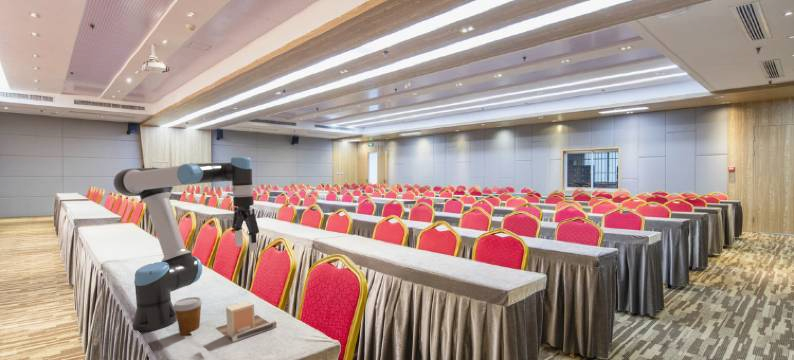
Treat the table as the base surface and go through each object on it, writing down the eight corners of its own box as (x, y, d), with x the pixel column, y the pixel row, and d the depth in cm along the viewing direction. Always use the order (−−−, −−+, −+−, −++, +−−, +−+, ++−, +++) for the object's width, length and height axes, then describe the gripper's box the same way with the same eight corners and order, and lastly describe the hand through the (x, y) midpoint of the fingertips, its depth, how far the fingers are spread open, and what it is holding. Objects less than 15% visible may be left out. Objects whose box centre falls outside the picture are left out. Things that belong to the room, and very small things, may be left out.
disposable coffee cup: (197, 324, 153) (195, 295, 152) (208, 331, 147) (206, 299, 146) (171, 333, 146) (168, 302, 145) (181, 340, 140) (179, 307, 139)
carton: (249, 327, 145) (248, 301, 145) (255, 331, 142) (253, 304, 141) (227, 334, 140) (226, 307, 139) (233, 338, 136) (231, 310, 136)
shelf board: (215, 331, 146) (215, 322, 146) (257, 318, 157) (256, 310, 157) (233, 346, 134) (232, 336, 133) (276, 331, 145) (276, 321, 145)
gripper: (221, 195, 161) (224, 246, 162) (246, 198, 143) (250, 255, 144) (240, 193, 166) (242, 242, 167) (266, 196, 148) (269, 251, 149)
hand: (246, 248), depth 156 cm, fingers open, 13 cm apart
